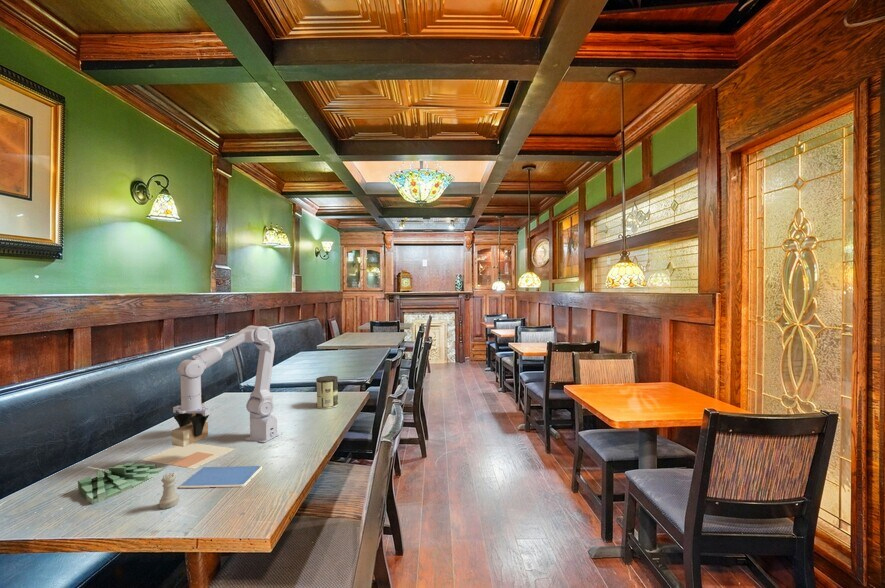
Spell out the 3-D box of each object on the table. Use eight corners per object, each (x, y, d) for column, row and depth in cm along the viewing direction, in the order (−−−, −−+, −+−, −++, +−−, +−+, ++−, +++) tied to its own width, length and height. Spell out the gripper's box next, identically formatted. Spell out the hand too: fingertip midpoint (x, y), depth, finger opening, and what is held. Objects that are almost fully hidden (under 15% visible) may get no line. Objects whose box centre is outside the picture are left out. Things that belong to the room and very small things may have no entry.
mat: (235, 450, 136) (235, 448, 136) (194, 470, 121) (194, 468, 121) (185, 443, 144) (185, 441, 144) (141, 461, 128) (141, 459, 128)
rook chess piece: (165, 500, 103) (165, 471, 103) (182, 499, 104) (182, 470, 104) (154, 510, 99) (154, 479, 99) (172, 509, 99) (172, 478, 99)
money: (115, 472, 121) (114, 457, 121) (166, 470, 122) (166, 456, 122) (53, 508, 101) (53, 490, 101) (116, 505, 102) (115, 487, 102)
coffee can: (331, 401, 196) (330, 374, 196) (342, 405, 189) (341, 377, 189) (312, 406, 188) (312, 378, 188) (323, 410, 181) (322, 381, 181)
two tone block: (197, 435, 133) (196, 420, 132) (208, 436, 131) (207, 422, 131) (172, 445, 124) (171, 430, 124) (183, 446, 122) (183, 431, 122)
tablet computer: (263, 468, 123) (263, 464, 123) (244, 489, 110) (244, 484, 110) (203, 470, 122) (203, 466, 122) (176, 491, 110) (176, 486, 109)
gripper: (163, 396, 126) (164, 437, 126) (196, 399, 122) (197, 441, 122) (183, 391, 133) (184, 429, 133) (215, 394, 129) (216, 433, 129)
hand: (191, 434), depth 128 cm, fingers closed on two tone block, 5 cm apart
